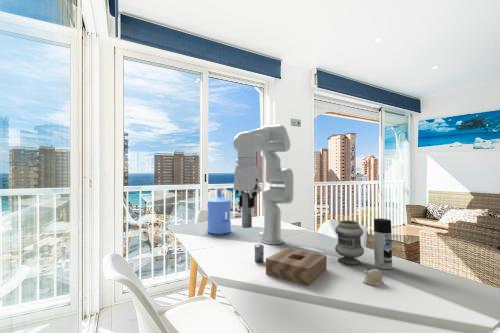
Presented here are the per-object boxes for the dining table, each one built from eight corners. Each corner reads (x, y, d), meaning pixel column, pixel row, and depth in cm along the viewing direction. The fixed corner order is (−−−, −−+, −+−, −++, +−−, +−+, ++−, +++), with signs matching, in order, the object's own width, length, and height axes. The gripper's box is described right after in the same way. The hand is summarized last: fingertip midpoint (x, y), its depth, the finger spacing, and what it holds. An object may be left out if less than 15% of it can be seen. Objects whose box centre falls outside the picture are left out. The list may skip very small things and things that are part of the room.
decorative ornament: (386, 284, 92) (386, 269, 92) (366, 287, 90) (366, 272, 90) (378, 280, 96) (377, 265, 96) (359, 282, 93) (358, 267, 94)
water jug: (204, 234, 164) (204, 190, 165) (211, 228, 180) (211, 188, 180) (227, 235, 162) (227, 191, 162) (233, 229, 177) (233, 189, 178)
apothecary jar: (330, 262, 114) (330, 222, 114) (341, 255, 123) (341, 218, 123) (358, 269, 106) (357, 225, 106) (368, 262, 114) (367, 221, 115)
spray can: (385, 271, 104) (385, 221, 105) (370, 265, 110) (370, 219, 111) (395, 268, 107) (395, 220, 108) (380, 262, 113) (380, 217, 114)
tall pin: (240, 227, 105) (240, 192, 105) (246, 225, 108) (245, 192, 108) (247, 228, 102) (247, 193, 102) (253, 226, 105) (253, 192, 106)
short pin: (253, 261, 115) (253, 246, 115) (258, 259, 118) (258, 243, 118) (260, 263, 112) (260, 247, 113) (265, 261, 116) (265, 245, 116)
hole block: (265, 273, 101) (265, 258, 101) (287, 260, 116) (287, 247, 116) (308, 286, 90) (308, 268, 91) (326, 270, 105) (326, 255, 105)
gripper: (225, 162, 107) (225, 206, 107) (258, 162, 97) (258, 210, 97) (236, 162, 113) (237, 204, 113) (268, 162, 103) (269, 207, 103)
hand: (246, 206), depth 105 cm, fingers closed on tall pin, 4 cm apart
